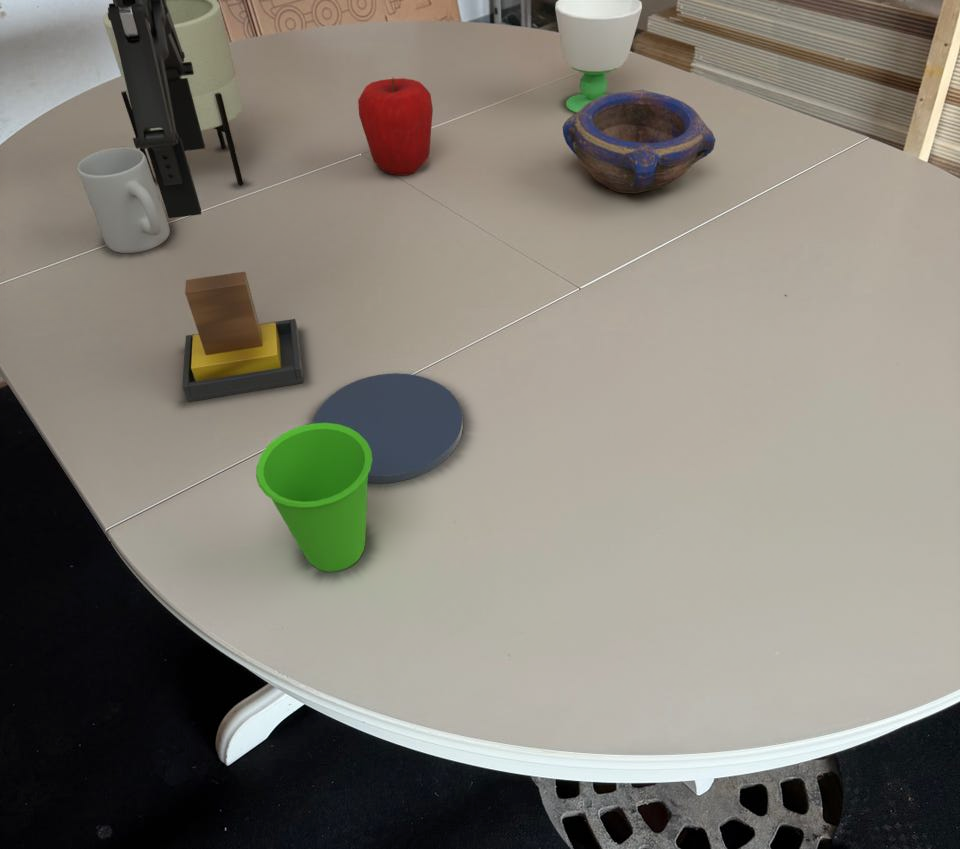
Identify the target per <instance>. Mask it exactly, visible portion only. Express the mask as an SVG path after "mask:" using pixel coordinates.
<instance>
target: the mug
mask: <svg viewBox="0 0 960 849" xmlns="http://www.w3.org/2000/svg"><path fill="white" fill-rule="evenodd" d="M76 168H77V169H76V170H77V174H78V176H79V178H80V180H81V184H82V187H83V189H84V191H85V194H86V197H87V200H88V202H89V204H90V206H91V209H92V212H93V214H94V217H95V220H96V222H97V225H98V227H99V231H100V234H101V236H102V239H103V241H104V244H105V245H106V247H107V248H108V249H109V250H111V251H112V252H115V253H118V254H136V253H137V254H138V253H142V252H147V251H150V250H152V249H154V248H157V247H158V246H160V245H161V244H163V243H164V242H165V241H166V240H167V239H168V238H169V236H170V231H171V229H170V225H169V222H168V219H167V217H166V214H165V211H164V208H163V206H162V202H161V199H160V196H159V193H158V190H157V187H156V184H155V183H156V182H154V180H153V177H152V174H151V171H150V168H149V165H148V162H147V159H146V157H145V155H144V153H143V152H141V151H140V149H139V148H134V147H124V146H122V147H121V146H120V147H112V148H107V149H102V150H99V151H96V152H94V153H91V154H89V155H87V156H85V157H83V159H81V160H79V163H78V164H77V167H76Z"/></svg>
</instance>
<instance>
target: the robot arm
mask: <svg viewBox="0 0 960 849" xmlns="http://www.w3.org/2000/svg"><path fill="white" fill-rule="evenodd" d="M107 13H108V18H109V20H110V21H111V25H112V28H113V31H114V35H115V38H116V42H117V46H118V50H119V55H120V59H121V64H122V68H123V72H124V77H125V81H126V86H127V90H128V94H129V98H128V99H130V101H129V102H130V103H131V104H130V105H131V108H132V112H133V116H134V121H135V125H136V130H137V134H138V138H136V137H132V141H133V144H134V147H135V149H140V148H142V149H145V150H147V151H146V152H147V154H148V157H149V160H150V165H151V168H152V169H153V170H152V171H153V172H154V173H153V174H154V177H155V181H156V182H157V186H158V189H159V192H160V195H161V198H162V202H163V205H164V208H165V211H166V214H167V217H168V219H175V218H184V217H193V216H199V215H202V207H201V204H200V201H199V197H198V192H197V191H196V190H197V189H196V186H195V182H194V179H193V175H192V173H191V169H190V165H189V161H188V158H187V154H186V152H188V151H196V150H203V149H206V148H205V147H206V144H205V140H204V136H203V133H202V132H203V131H201V129H200V125H199V121H198V117H197V113H196V109H195V106H194V102H193V98H192V94H191V90H190V86H189V83H188V79H187V78H181V76H186V75H194V71H193V66H192V63H191V62H185V63H183V62H184V58H185V54H184V52H183V51H182V48H181V45H180V42H179V39H178V36H177V33H176V30H175V27H174V24H173V21H172V18H171V15H170V12H169V9H168V6H167V1H166V0H112V2H111V3H108V7H107ZM151 128H162V129H160V130H151V131H150V129H151Z"/></svg>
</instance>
